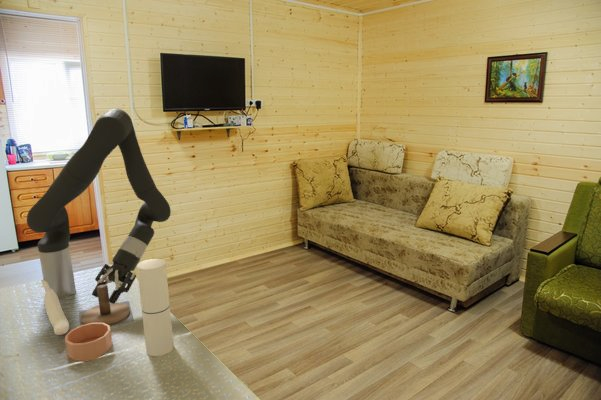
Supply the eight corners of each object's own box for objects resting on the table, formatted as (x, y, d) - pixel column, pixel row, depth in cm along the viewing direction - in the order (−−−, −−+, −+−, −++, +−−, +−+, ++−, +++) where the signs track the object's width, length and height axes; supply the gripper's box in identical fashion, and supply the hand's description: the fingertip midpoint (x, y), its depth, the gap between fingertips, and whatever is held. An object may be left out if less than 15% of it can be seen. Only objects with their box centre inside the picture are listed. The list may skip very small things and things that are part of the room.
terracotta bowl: (68, 344, 117) (65, 328, 116) (110, 334, 122) (108, 318, 121) (67, 366, 108) (64, 349, 107) (113, 353, 113) (111, 337, 112)
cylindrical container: (148, 359, 110) (138, 271, 104) (144, 345, 117) (135, 261, 111) (175, 351, 114) (167, 265, 108) (170, 338, 120) (163, 256, 114)
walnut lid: (80, 311, 135) (76, 283, 132) (127, 301, 141) (124, 274, 139) (81, 332, 123) (76, 301, 120) (132, 320, 129) (128, 290, 127)
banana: (57, 347, 116) (49, 299, 113) (43, 321, 130) (36, 277, 127) (76, 340, 119) (69, 293, 116) (61, 315, 133) (54, 273, 130)
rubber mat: (79, 312, 135) (79, 311, 135) (128, 302, 142) (128, 300, 142) (79, 335, 122) (79, 333, 122) (134, 322, 129) (134, 320, 129)
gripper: (108, 244, 138) (80, 289, 131) (136, 252, 130) (107, 300, 124) (124, 254, 143) (97, 298, 137) (152, 262, 136) (125, 309, 129)
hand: (102, 299), depth 130 cm, fingers open, 8 cm apart
